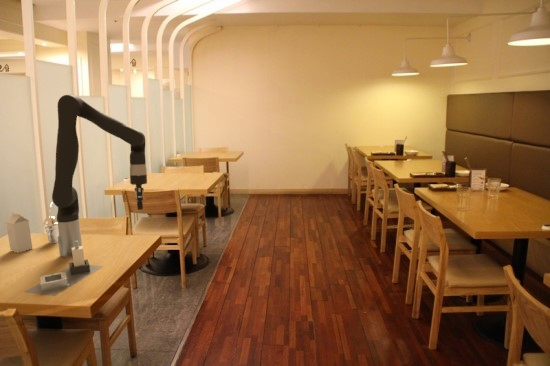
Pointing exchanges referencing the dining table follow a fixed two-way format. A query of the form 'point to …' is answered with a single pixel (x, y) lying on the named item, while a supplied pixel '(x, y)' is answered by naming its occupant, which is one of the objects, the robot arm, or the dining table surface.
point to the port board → (70, 281)
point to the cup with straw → (51, 227)
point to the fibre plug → (78, 255)
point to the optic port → (53, 281)
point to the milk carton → (19, 233)
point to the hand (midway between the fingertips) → (139, 208)
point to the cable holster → (79, 268)
